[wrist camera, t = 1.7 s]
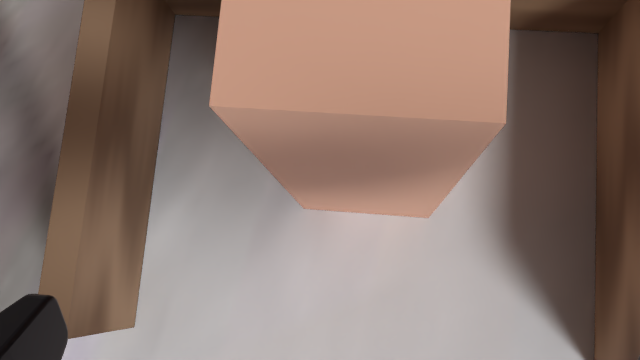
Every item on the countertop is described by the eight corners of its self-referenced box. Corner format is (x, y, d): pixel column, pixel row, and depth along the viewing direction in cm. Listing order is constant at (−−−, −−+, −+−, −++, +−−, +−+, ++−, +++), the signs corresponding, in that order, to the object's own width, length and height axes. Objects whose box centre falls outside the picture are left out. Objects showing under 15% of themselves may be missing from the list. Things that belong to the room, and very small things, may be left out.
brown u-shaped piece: (625, 374, 20) (705, 403, 15) (107, 324, 22) (31, 336, 17) (626, 8, 22) (697, -69, 17) (153, -10, 24) (97, -86, 19)
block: (428, 217, 22) (506, 123, 9) (303, 208, 22) (209, 105, 9) (435, 96, 22) (516, -150, 10) (314, 90, 23) (239, -154, 10)
